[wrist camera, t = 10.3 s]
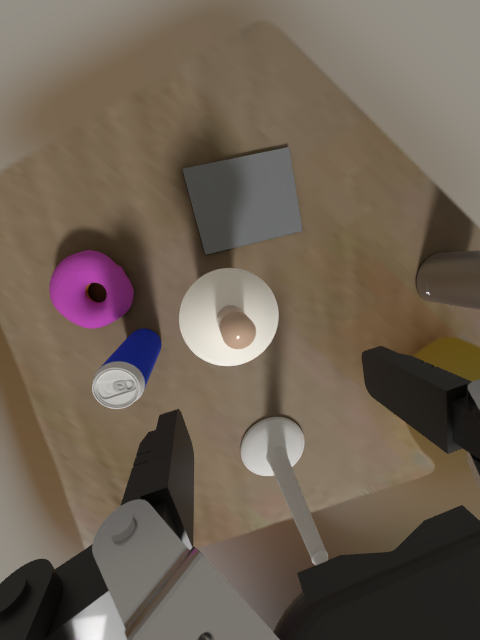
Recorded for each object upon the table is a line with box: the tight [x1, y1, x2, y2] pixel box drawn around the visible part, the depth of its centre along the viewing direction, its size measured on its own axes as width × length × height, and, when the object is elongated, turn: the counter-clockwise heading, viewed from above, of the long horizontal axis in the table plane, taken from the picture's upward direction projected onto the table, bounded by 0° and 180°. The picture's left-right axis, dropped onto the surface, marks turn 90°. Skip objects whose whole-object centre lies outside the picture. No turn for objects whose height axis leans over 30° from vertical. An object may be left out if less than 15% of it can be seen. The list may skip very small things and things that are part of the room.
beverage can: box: [92, 329, 161, 409], centre depth 32 cm, size 5×5×15 cm
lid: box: [179, 268, 279, 366], centre depth 23 cm, size 10×10×6 cm
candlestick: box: [241, 417, 328, 565], centre depth 34 cm, size 13×13×30 cm
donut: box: [50, 250, 134, 328], centre depth 34 cm, size 10×10×5 cm
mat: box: [182, 147, 303, 255], centre depth 37 cm, size 16×12×1 cm
